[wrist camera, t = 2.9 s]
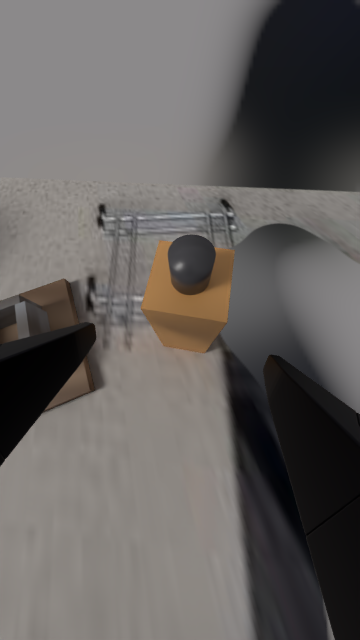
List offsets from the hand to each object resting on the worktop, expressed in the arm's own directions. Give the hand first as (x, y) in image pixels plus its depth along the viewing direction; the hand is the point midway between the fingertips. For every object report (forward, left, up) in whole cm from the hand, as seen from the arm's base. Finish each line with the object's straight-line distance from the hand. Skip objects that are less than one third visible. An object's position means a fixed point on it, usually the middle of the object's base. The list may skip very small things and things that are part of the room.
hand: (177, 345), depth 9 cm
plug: (+2, -4, -11) cm, 11 cm away
